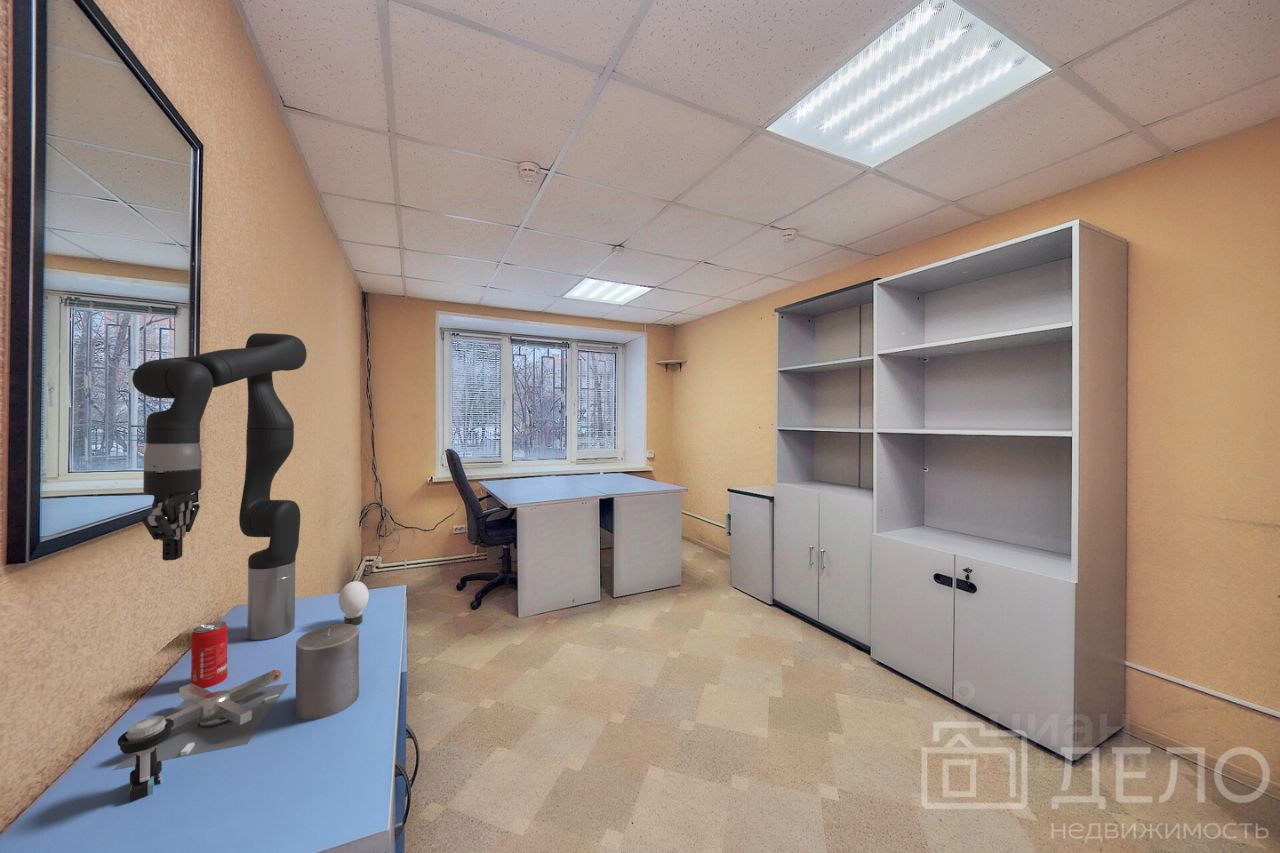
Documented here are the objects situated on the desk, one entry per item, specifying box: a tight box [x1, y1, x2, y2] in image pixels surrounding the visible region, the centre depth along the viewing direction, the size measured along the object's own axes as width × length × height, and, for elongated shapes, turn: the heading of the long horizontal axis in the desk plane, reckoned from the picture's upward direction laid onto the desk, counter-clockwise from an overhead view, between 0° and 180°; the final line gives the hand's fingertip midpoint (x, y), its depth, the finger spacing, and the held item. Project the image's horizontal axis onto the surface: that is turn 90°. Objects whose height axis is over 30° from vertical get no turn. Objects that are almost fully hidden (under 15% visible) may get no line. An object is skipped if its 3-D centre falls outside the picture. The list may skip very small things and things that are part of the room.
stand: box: [113, 682, 290, 771], centre depth 77 cm, size 18×16×2 cm
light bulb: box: [338, 580, 370, 626], centre depth 118 cm, size 7×7×11 cm
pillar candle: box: [295, 623, 360, 721], centre depth 83 cm, size 10×10×15 cm
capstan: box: [164, 669, 282, 730], centre depth 78 cm, size 20×19×4 cm
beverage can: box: [190, 620, 229, 689], centre depth 89 cm, size 5×5×12 cm
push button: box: [117, 715, 174, 803], centre depth 64 cm, size 7×5×10 cm
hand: (172, 559), depth 84 cm, fingers closed
